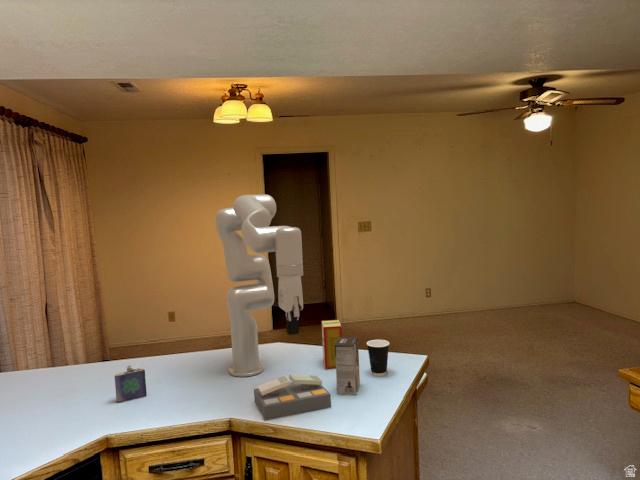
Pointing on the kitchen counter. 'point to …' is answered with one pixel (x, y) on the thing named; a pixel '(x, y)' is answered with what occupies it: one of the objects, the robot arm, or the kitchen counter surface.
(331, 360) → the baking soda box
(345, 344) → the coffee box
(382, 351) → the dixie cup
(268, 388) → the rocker offwhite
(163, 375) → the kitchen counter surface
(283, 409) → the switch unit
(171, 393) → the kitchen counter surface
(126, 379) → the flask
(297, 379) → the block
